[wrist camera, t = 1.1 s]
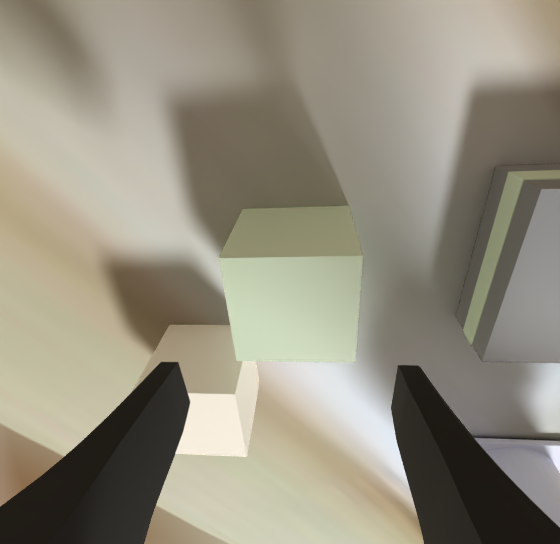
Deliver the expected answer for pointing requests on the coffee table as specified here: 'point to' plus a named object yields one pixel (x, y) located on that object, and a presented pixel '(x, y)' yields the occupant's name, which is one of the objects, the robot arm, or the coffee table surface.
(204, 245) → the coffee table surface
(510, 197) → the grey striped square box
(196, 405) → the cream block
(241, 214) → the sage block
